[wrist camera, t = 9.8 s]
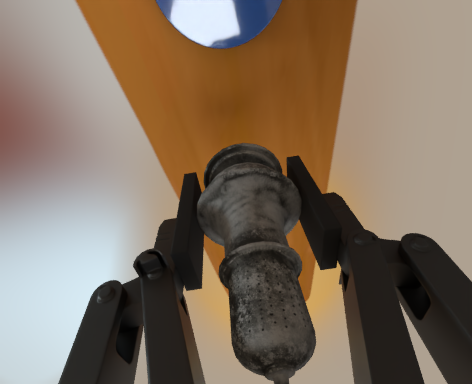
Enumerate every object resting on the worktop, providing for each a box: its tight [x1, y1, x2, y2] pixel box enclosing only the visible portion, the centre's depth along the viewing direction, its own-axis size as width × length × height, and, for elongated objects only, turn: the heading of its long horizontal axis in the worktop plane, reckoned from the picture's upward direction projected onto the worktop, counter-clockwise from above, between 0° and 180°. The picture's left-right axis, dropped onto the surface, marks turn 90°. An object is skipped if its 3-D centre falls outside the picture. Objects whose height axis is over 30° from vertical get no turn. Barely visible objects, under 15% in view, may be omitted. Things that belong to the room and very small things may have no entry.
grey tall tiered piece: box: [197, 143, 316, 384], centre depth 12 cm, size 6×6×12 cm
